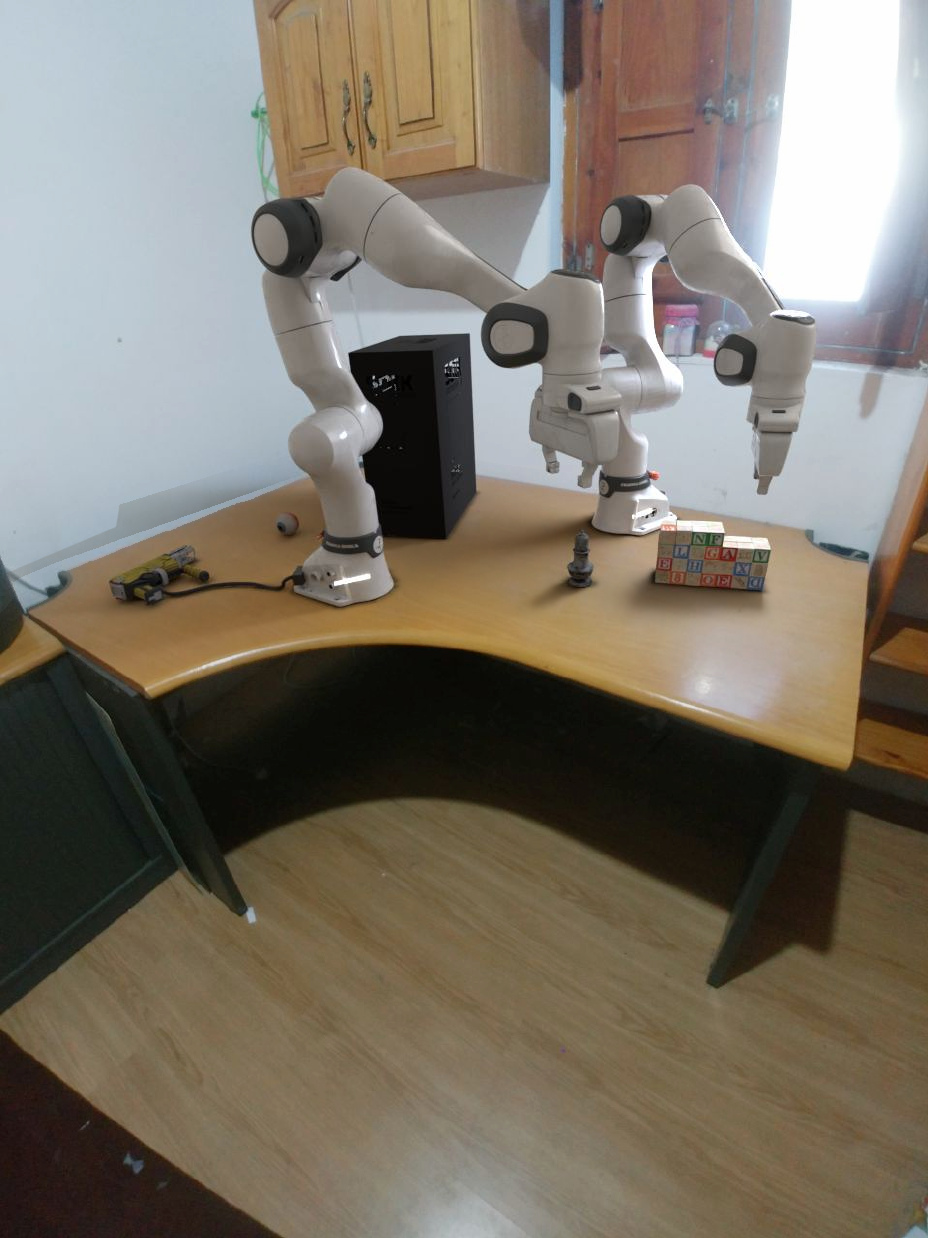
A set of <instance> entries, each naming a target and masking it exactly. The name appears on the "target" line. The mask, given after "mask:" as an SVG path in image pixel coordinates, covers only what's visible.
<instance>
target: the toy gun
mask: <svg viewBox="0 0 928 1238" xmlns="http://www.w3.org/2000/svg"><path fill="white" fill-rule="evenodd" d="M191 553H193V556H190V554H191ZM196 560H197V556H196V551H195V547H194V546H192V545H189V546H188V545H187V544H184V545H182V546H180V547H177V548H176V549H174V550H171V551H170V552H168V553H163V554H161V555H159V556H157V557H155V558H153V559H151V560H149V561H147V562H145V563H142V564H139V565H138V566H136V567H133V568H132V569H129V570H128V571H125V572H123V573H121V574H119V575H117V576H115V577H113V578H111V579H110V580H108V583H109V587H110V591H111V594H112V597H113V598H115V600H117V601H118V600H119V601H120V602H121V601H122V602H123V601H125V600H126V601H131V600H135V599H143V600H144V601H145V605H146V607H150V606H153V605H155V604H157V603H159V602H162V601H164V600H165V595H164V594H163V590H164V589H163V588H164V587H166V586H168V585H169V581H171V580H173V579H175V578H178V577H181V575H182V574H184V575H185V576H189V577H191V578H194V579H196V580H199V581H200V582H202V583H205V582H207V581H209V580H210V573H209V572H208V571H207V570H202V569H200V568H198V567H195V566H192V565H191V564H190V563H192V562H193V561H196ZM162 589H163V590H162Z"/></svg>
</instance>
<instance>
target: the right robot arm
mask: <svg viewBox="0 0 928 1238" xmlns="http://www.w3.org/2000/svg"><path fill="white" fill-rule="evenodd" d="M599 239H600V243H601V245H602V248H603V249H604V250H605V251H606V252H608V253H609V254H608V255H607V256H606V259H605V261H604V265H603V271H602V272H603V273H602V282H601V284H602V288H603V295H604V336H603V340H604V341H605V343H606V345H607V346H608V347H610V348H611V349H613V350H615V351H617V352H619V354H621V356H622V357H623V360H624V361H625V365H624V366H615V367H614V366H613V367H605V368H602V371H601V378H603V379H605V381H606V382H607V383H608V384H609V385H610V386H611V387H612V388H614V389H615V390H616V391H617V392H619V393H620V395H621V406H620V408H618V409H614V410H615V411H616V412H617V414H618V417H619V440H618V450H617V455H616V457H615V459H614V460H613V462H612V463H608V464H604V465H601V468H600V470H599V474H598V492H599V493H598V498H597V502H596V507H595V511H594V514H593V517H592V520H591V525H592V526H593V527H594V528H595V529H597V530H599V531H601V532H605V533H611V534H623V535H625V534H626V535H632V536H633V535H634V536H645V535H646V534H650V533H652V532H654V531H657V530H660V528H661V520H663V519H664V520H676V521H677V520H678V516H677V515H676V514H675V513H674V512H672V511H670V503H669V502H670V501H669V498H668V497H667V496H666V491H664V490H660V489H658V488H656V487H655V486H654V485H652V483H651V480H653V481H658V479H659V478H660V473H659V472H657V471H654V470H651V471H649V470H648V469H647V466H648V458H649V457H648V455H649V446H650V443H649V440H648V438H647V437H646V435H645V434H644V433H643V432H641V431H639V430H637V429H636V428H633V427H632V423H631V417H632V416H634V415H643V414H651V413H657V412H660V411H663V410H666V409H668V408H671V407H674V406H675V405H676V404H677V403H678V402H679V400H680V398H681V397H682V394H683V391H684V378H683V375H682V373H681V371H680V369H679V368H678V367H677V366H676V365H675V364H673V363H672V362H670V360H668V358H667V357H666V356H665V354H664V353H663V352H662V349H661V347H660V345H659V343H658V340H657V337H656V332H655V324H654V309H653V287H652V285H653V284H652V274H653V270H654V268H655V266H656V264H657V263H659V264H662V265H666V264H668V263H669V264H670V267H671V270H672V272H673V273H674V275H675V277H676V278H677V280H678V281H679V282H680V284H681V285H682V286H683V287H684V288H685V289H687V290H690V291H692V292H695V293H699V294H704V295H710V296H714V297H718V298H721V299H724V300H726V301H729V302H730V303H733V304H734V305H735V306H736V307H738V309H740V311H741V312H742V313H743V315H744V317H745V319H746V320H747V322H748V324H749V325H750V327H748V328H745V329H743V330H738V331H735V332H733V333H730V334H728V335H725V337H723V338H722V339H721V341H720V342H719V343H718V345H717V347H716V349H715V352H714V356H713V361H712V363H713V364H712V365H713V372H714V375H715V377H716V379H717V381H719V382H720V384H721V385H723V386H726V387H733V388H740V387H747V386H750V387H751V393H750V396H749V403H748V408H747V414H746V419H745V420H746V421H747V423H750V424H751V425H752V427H751V430H752V432H753V433H752V439H751V446H750V448H751V451H752V455H753V459H754V462H753V464H754V465H753V473H752V477H753V478H752V479H754V480H758V482H757V485H756V494H757V495H760V496H765V495H768V492H769V488H770V485H771V482H772V480H773V477H780V475H781V473H782V472H783V469H784V467H785V464H786V460H787V458H788V454H789V450H790V447H791V443H792V440H793V436H794V435H793V434H794V433H797V432H798V430H799V428H800V427H799V426H800V422H801V416H802V412H803V408H804V403H805V398H806V394H807V393H806V391H807V390H806V383H807V382H806V381H807V378H808V376H809V374H810V372H811V371H812V366H813V364H814V363H813V362H814V358H815V351H816V346H817V338H818V326H817V321H816V318H815V317H814V316H813V315H811V314H809V313H807V312H804V311H799V310H789V309H786V307H785V306H784V304H783V302H782V301H781V299H780V298H779V296H778V295H777V293H776V291H775V289H774V288H773V286H772V285H771V283H770V282H769V280H768V278H767V277H766V276H765V274H764V273H763V271H762V270H761V268H760V267H759V266H758V265H757V263H756V262H754V261H753V259H752V258H750V256H748V254H746V253H745V252H744V251H743V249H742V248H741V247H740V245H739V244H738V242H737V241H736V240H735V238H734V237H733V235H732V234H731V233H730V231H729V228H728V226H727V224H726V223H725V221H724V218H723V216H722V214H721V212H720V210H719V208H718V207H717V206H716V204H715V202H714V200H713V199H712V197H710V196H709V194H708V193H707V192H706V190H705V189H704V188H702V186H700V185H697V184H695V183H690V184H684V185H681V186H679V187H677V188H676V189H674V190H673V191H671V193H669V194H661V193H653V194H652V193H651V194H639V195H634V194H625V195H620V196H617V197H615V198H613V199H612V200H611V201H610V202H609V203H608V204H607V205H606V207H605V209H604V210H603V213H602V215H601V218H600V221H599Z"/></svg>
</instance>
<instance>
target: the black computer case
mask: <svg viewBox="0 0 928 1238" xmlns="http://www.w3.org/2000/svg"><path fill="white" fill-rule="evenodd" d="M471 352H472V351H471V334H470V333H469V332H467V333H440V334H439V333H437V334H413V335H412V334H410V335H398V336H395V337H392V338H389V339H385V340H383V341H380V342H377V343H373V344H370V345H366V346H364V347H361V348H358V349H355V350H352V351H348V352H347V357H348V362H349V370H350V372H351V374H352V376H353V378H354V379H355V381H356V383H357V385H358V387H359V388H360V390H361V392H362V393H363V395H364V397H365V398H366V399H367V401H368V402H370V403H371V404H372V405H374V406H375V407H376V408H377V410H378V411H379V413H380V415H381V418H382V422H383V430H382V434H381V436H380V438H379V439H378V441H377V442H376V444H375V445H374V446H373V448H372V449H371V450H370V451H368V452H366V453H365V454H363V455H362V456H361V458H362V465H363V473H364V480H365V482H366V483H368V484H369V485H370V486H371V487H372V488H373V490H374V492H375V500H376V507H377V515H378V523H379V524H380V525H381V530H382V537H398V538H399V537H400V538H423V539H424V538H425V539H443V540H444V539H445V540H446V539H447V538H448V537H449V535H450V533H451V532H452V530H453V529H454V528H455V526H456V524H457V523H458V521H459V520H460V518H461V517H462V515H463V514H464V512H465V511H466V509H467V507H468V506H469V505H470V503H471V502H472V500H473V498H474V497H475V495H476V494H477V471H476V470H477V469H476V448H475V446H476V445H475V426H474V424H475V423H474V422H475V421H474V401H473V377H472V355H471ZM450 364H451V365H450Z"/></svg>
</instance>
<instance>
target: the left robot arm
mask: <svg viewBox="0 0 928 1238" xmlns="http://www.w3.org/2000/svg"><path fill="white" fill-rule="evenodd" d="M250 237H251V242H252V243H251V244H252V247H253V250H254V253H255V254H256V256H257V259H258V260H259V261H260V263H261V265H262V266H263V267H264V268H265V270H264V271H263V273H262V276H261V288H262V294H263V300H264V304H265V309H266V313H267V317H268V320H269V321H268V322H269V325H270V327H271V331H272V334H273V336H274V340H275V342H276V346H277V349H278V351H279V354H280V357H281V359H282V362H283V365H284V368H285V371H286V375H287V377H288V379H289V381H290V382H291V383H292V384H293V385H294V386H295V387H297V388H298V389H300V390H301V391H302V392H303V393H304V395H305V397H307V398H308V401H309V402H310V403H311V405H312V407H313V409H314V412H313V413H311V414H308V415H306V416H304V418H302V419H301V420H300V421H299V422H298V423H297V424H296V425H295V426H294V428H292V429H291V431H290V432H289V435H288V440H287V448H288V453H289V456H290V458H291V459H292V461H293V463H294V464H295V465H296V466H297V467H298V468H299V469H300V470H301V471H303V472H305V473H306V474H307V475H308V476H309V478H310V479H311V481H312V483H313V485H314V487H315V489H316V491H317V494H318V497H319V500H320V504H321V510H322V514H323V519H324V525H325V528H323V529H322V530H321V532H319V533H318V534H317V535H315V536H316V537H317V538H316V540H317V541H319V540H321V539H322V542H321V545H320V546H319V547H318V548H316V549H315V551H313V552H312V553H311V554H310V555H309V556H308V557H307V558H306V559H305V560H304V562H303V563H302V565H297V566H296V568H295V570H294V571H293V572H292V574H291V575H288V576H286V577H285V578H284V579H282V580H281V584H280V585H277V586H270V585H267V584H264V583H259V582H254V581H226V582H225V581H224V582H217V583H216V582H215V583H209V584H203V585H200V586H197V587H194V588H189V589H186V590H181V591H168V590H165V589H163V588H162V590H163V595H164V596H169V597H181V596H186V595H189V594H193V593H198V592H200V591H201V592H202V591H205V590H208V589H209V590H210V589H215V588H222V587H223V588H224V587H255V588H260V589H263V590H269V591H281V590H284V589H285V588H286V585H287V583H288V582H289V581H292V583H293V592H294V593H296V594H299V595H302V596H304V597H308V598H310V599H314V600H316V601H320V602H323V603H326V604H329V605H332V606H335V607H338V608H339V607H346V606H349V605H352V604H355V603H363V602H367V601H371V600H376V599H378V598H381V597H383V596H384V595H387V594H388V593H389V592H390V591H391V590H392V589H393V588H394V585H395V582H394V579H393V578H392V575H391V573H390V570H389V568H388V564H387V561H386V557H385V553H384V536H382V530H381V525H380V524H379V523H378V515H377V507H376V500H375V492H374V490H373V488H372V487H371V486H370V485H369V484H368V483H366V481H365V477H364V476H363V473H362V470H361V467H360V461H359V460H360V457H362V455H363V454H365V453H366V452H368V451H370V450H371V449H372V448H373V446H374V445H375V444H376V442H377V441H378V439H379V438H380V436H381V434H382V430H383V422H382V418H381V415H380V413H379V411H378V410H377V408H376V407H375V406H374V405H372V404H371V403H370V402H368V401H367V399H366V398H365V397H364V395H363V393H362V392H361V390H360V388H359V387H358V385H357V383H356V381H355V379H354V378H353V376H352V374H351V371H350V366H349V365H348V363H347V360H346V357H345V354H344V351H343V348H342V345H341V341H340V338H339V335H338V331H337V329H336V326H335V322H334V318H333V316H332V313H331V310H330V307H329V303H328V299H327V294H326V293H327V292H326V291H327V284H328V282H329V281H332V282H339V281H340V280H341V279H342V278H343V277H344V276H345V275H346V274H348V273H349V272H350V271H351V270H353V269H354V268H355V267H357V266H358V265H359V264H360V263H361V262H364V263H366V264H367V265H369V267H371V268H372V269H373V270H375V271H376V272H377V273H379V274H380V275H381V276H383V277H384V278H386V279H388V280H390V281H392V282H394V283H396V284H398V285H401V286H403V287H405V288H410V289H421V290H431V291H432V290H433V291H440V292H446V293H450V294H454V295H456V296H459V297H461V298H462V299H464V300H466V301H468V302H470V303H471V304H472V305H473V306H475V307H476V308H478V309H479V310H480V311H482V312H484V313H485V316H484V318H483V320H482V323H481V328H480V341H481V346H482V349H483V351H484V354H485V355H486V357H487V358H488V359H489V360H490V361H491V362H492V363H493V364H494V365H496V366H497V367H500V368H503V369H510V370H515V369H520V368H523V367H527V366H531V365H533V364H539V365H540V366H541V369H542V370H541V371H542V372H541V384H539V386H537V388H536V390H535V391H534V398H533V399H532V401H531V405H530V409H529V410H530V411H529V412H530V413H529V420H528V421H529V424H528V434H529V438H530V440H531V442H534V443H536V444H537V445H538V444H539V445H541V451H542V455H543V457H544V461H545V471H546V472H547V473H549V474H551V475H554V474H558V473H559V472H560V465H561V464H560V461H558V459H557V453H556V451H557V452H559V453H561V454H564V455H566V456H569V457H572V458H574V459H577V460H580V461H581V468H583V469H582V472H581V474H580V475H577V484H576V485H577V486H578V487H580V488H581V489H583V490H584V489H589V488H592V485H593V477H594V475H595V472H596V471H597V470H598V467H599V466H602V465H604V464H608V463H612V462H613V460H614V459H615V457H616V455H617V450H618V440H619V417H618V414H617V412H616V411H615V410H614V409H618V408H620V406H621V395H620V393H619V392H617V391H616V390H615V389H614V388H612V387H611V386H610V385H609V384H608V383H607V382H606V381H605V379H603V378H601V371H602V369H603V368H602V366H603V365H602V362H601V349H602V348H601V347H602V344H603V341H604V295H603V288H602V281H601V280H600V279H599V278H598V276H597V275H595V274H593V273H590V272H587V271H584V270H577V269H567V268H557V269H556V268H555V269H553V270H551V271H549V272H548V273H547V274H546V275H545V277H544V278H543V279H541V280H540V281H539V282H537V283H536V284H535V285H533V286H531V287H530V288H525V287H524V286H522V285H521V284H519V283H517V282H516V281H515V280H513V279H512V278H511V277H509V276H507V275H506V274H504V273H503V272H501V271H500V270H499V269H497V268H496V267H494V266H493V265H491V264H490V263H489V262H487V261H486V260H485V259H484V258H482V257H481V256H479V255H477V254H476V253H475V252H473V251H472V250H470V249H469V248H468V247H466V245H464V244H463V243H462V242H461V241H460V240H458V239H457V238H456V236H454V235H452V234H451V233H450V232H449V231H448V230H446V229H445V228H444V227H443V226H442V225H441V224H440V223H438V222H437V221H436V220H435V219H434V218H433V217H432V216H430V214H428V213H427V212H426V211H425V210H424V209H423V208H421V207H420V205H418V204H417V203H415V202H414V201H413V200H412V199H411V198H409V197H408V196H407V195H406V194H405V193H403V192H402V191H400V190H399V189H397V187H394V186H393V185H392V184H390V183H388V182H387V181H385V180H383V179H381V178H380V177H378V176H376V175H374V174H372V173H370V172H368V171H366V170H364V169H361V168H359V167H356V166H348V167H344V168H342V169H340V170H339V171H337V172H335V174H334V175H333V176H332V177H331V179H330V180H329V181H328V184H327V186H326V188H325V191H324V194H323V196H322V197H321V196H303V197H281V198H276V199H272V200H270V201H267V202H266V203H264V204H262V205H261V206H260V207H258V208H257V210H256V211H255V213H254V215H253V216H252V221H251V224H250Z"/></svg>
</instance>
